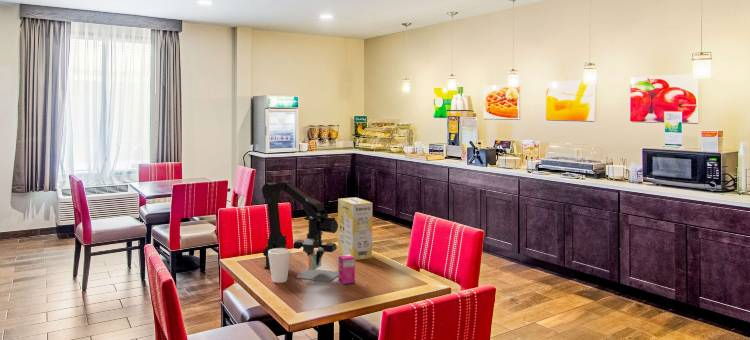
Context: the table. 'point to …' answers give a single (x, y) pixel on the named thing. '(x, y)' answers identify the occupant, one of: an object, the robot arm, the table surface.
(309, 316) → the table surface
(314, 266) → the tile
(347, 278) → the supplement box
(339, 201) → the pasta box
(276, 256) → the foam cup
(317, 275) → the mat
